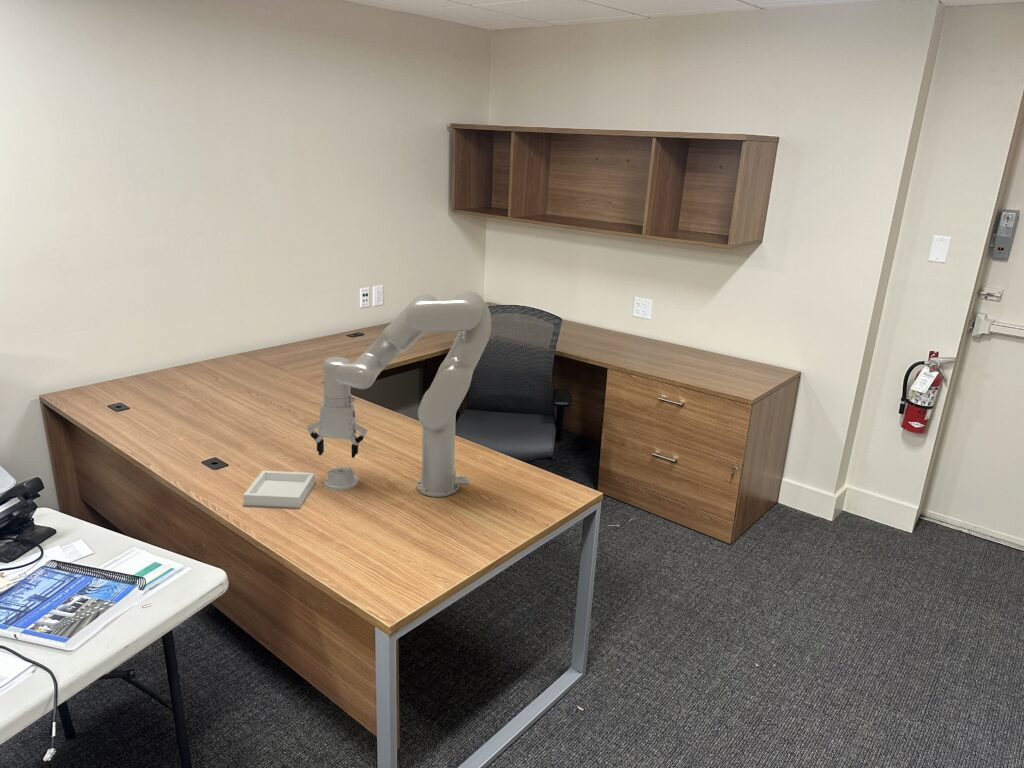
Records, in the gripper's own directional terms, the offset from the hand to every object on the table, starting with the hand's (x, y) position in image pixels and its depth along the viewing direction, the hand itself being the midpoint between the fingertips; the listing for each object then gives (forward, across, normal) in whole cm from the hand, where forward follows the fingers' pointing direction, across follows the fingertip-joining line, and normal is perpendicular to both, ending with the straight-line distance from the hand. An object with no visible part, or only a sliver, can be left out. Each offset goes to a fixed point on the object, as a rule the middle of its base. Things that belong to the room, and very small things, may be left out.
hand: (337, 454), depth 210 cm
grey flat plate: (+10, +14, +9) cm, 19 cm away
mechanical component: (+10, -1, 0) cm, 10 cm away
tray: (+9, +14, +9) cm, 19 cm away
